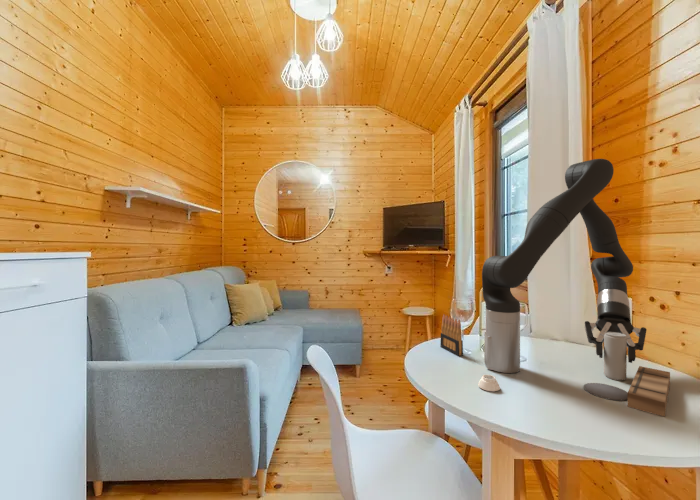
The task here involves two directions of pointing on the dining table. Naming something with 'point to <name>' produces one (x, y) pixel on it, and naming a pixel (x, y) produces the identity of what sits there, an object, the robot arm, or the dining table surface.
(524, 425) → the dining table surface
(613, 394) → the end pad
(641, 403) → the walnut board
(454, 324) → the ammunition clip
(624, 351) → the beverage can
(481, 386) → the small beige bowl
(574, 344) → the dining table surface
